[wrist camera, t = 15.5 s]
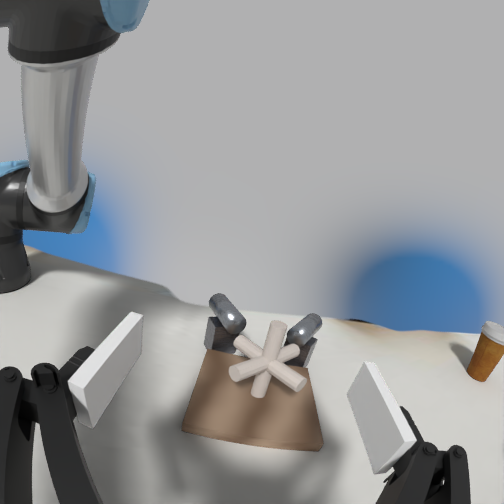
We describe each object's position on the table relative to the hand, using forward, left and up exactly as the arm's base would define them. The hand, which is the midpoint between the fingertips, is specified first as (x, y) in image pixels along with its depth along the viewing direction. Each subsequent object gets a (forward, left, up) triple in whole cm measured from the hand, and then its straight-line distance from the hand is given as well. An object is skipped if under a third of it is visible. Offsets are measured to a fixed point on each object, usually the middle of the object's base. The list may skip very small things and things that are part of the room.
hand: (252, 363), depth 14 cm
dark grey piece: (+9, +24, -15) cm, 30 cm away
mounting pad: (+3, +13, -15) cm, 20 cm away
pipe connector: (+3, +13, -14) cm, 20 cm away
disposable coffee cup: (+55, +23, -16) cm, 62 cm away
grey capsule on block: (-3, +24, -15) cm, 28 cm away
